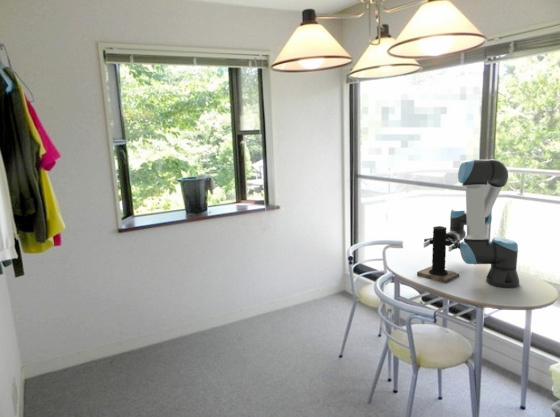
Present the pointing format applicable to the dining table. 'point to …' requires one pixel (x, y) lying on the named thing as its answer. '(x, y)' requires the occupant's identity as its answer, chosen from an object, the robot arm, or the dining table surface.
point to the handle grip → (439, 251)
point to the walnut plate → (442, 279)
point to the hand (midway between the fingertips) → (436, 247)
